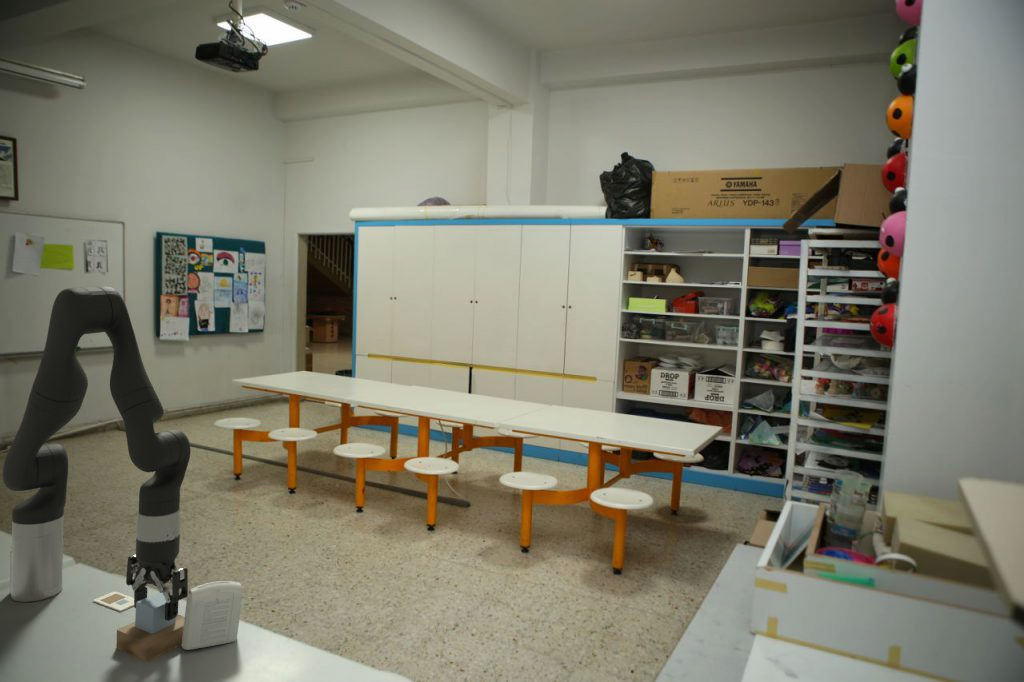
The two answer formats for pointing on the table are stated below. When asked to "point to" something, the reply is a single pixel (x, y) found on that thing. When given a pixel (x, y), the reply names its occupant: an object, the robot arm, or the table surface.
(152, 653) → the base brick
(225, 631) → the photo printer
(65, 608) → the table surface
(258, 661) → the table surface
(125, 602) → the page
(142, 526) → the robot arm
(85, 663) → the table surface
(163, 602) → the top brick
